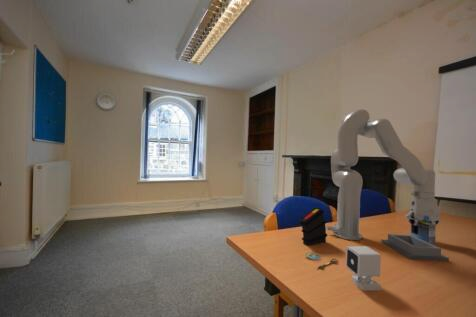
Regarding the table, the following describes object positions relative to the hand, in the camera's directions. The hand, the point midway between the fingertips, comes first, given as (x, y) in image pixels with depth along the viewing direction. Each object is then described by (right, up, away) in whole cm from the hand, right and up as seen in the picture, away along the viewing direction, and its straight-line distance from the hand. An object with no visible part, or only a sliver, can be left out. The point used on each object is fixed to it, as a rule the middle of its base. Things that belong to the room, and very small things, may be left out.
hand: (422, 233), depth 103 cm
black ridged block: (-55, -1, -9) cm, 55 cm away
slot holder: (-16, -2, -13) cm, 21 cm away
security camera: (-51, -1, -40) cm, 65 cm away
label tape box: (0, -3, 0) cm, 3 cm away
